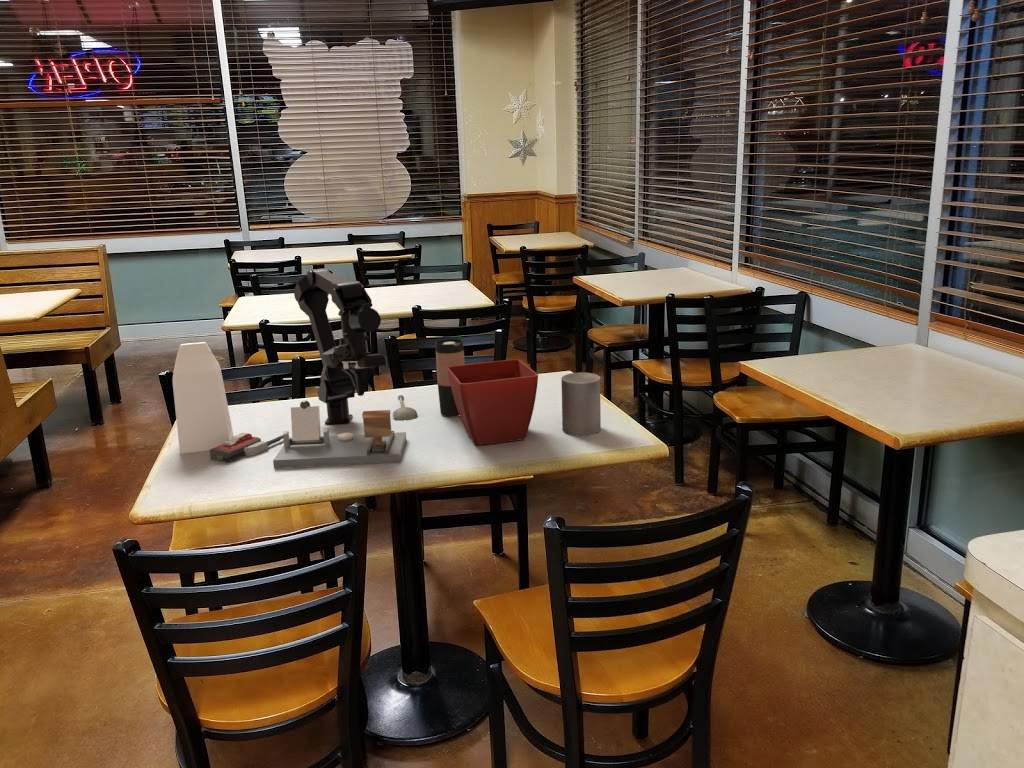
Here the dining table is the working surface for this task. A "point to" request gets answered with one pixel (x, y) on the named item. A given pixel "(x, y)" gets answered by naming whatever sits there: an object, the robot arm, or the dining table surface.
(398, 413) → the soupspoon
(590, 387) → the pillar candle
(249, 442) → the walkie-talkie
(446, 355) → the travel mug
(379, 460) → the control panel
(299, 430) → the light grey piece
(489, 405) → the plant pot
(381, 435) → the walnut slider lever
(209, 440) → the milk
